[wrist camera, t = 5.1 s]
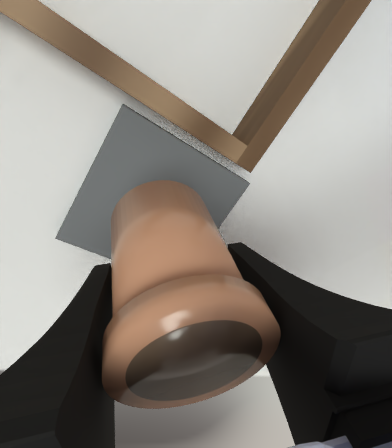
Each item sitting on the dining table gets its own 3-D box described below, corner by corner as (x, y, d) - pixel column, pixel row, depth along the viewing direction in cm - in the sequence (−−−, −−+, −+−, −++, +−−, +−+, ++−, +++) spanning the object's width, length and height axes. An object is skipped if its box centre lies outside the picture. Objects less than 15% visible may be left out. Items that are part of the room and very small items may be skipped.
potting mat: (246, 181, 21) (249, 183, 21) (177, 279, 24) (178, 284, 24) (122, 103, 17) (122, 104, 16) (57, 234, 20) (55, 238, 19)
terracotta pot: (213, 166, 12) (296, 286, 7) (211, 253, 16) (268, 383, 10) (91, 182, 12) (77, 336, 6) (115, 271, 15) (121, 426, 9)
